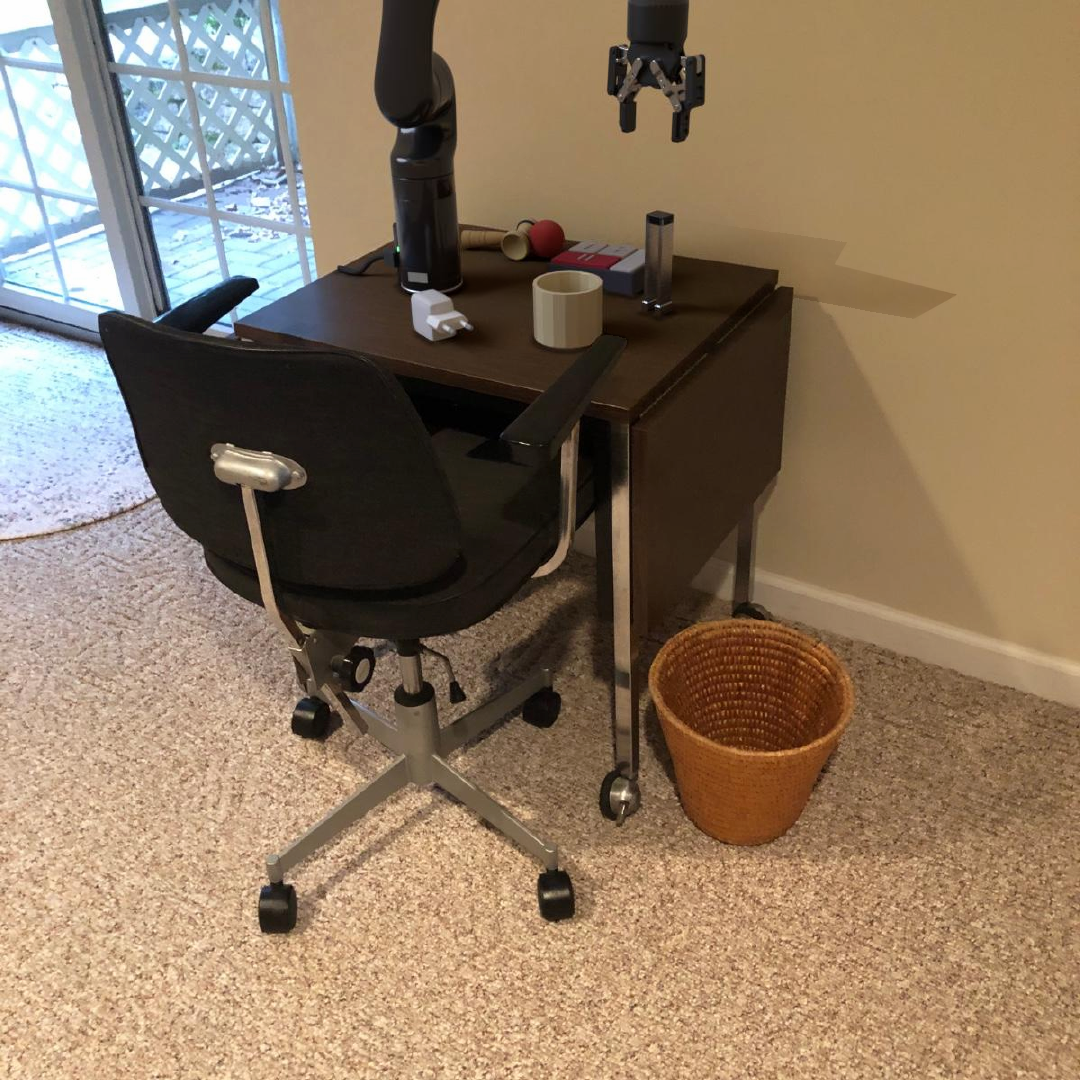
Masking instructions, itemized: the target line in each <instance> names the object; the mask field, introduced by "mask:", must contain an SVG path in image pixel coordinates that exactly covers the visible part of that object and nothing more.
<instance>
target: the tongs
mask: <svg viewBox="0 0 1080 1080" xmlns="http://www.w3.org/2000/svg"><path fill="white" fill-rule="evenodd" d="M674 228H675V214H674V213H671V212H667V211H663V210H654V211H651V212H648V213H646V215H645V240H644V243H645V244H644V249H645V277H644V290H643V300H642V301H641V311H644V312H649V311H651V310H654V315H656V316H658V317H659V316H663V315H665V314H667V313H670V312H672V311H673V304H674V303H673V301H672V281H673V279H672V277H673V257H674V255H673V253H674V251H673V250H674V233H675V231H674V230H675V229H674Z"/></svg>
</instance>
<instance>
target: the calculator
mask: <svg viewBox="0 0 1080 1080" xmlns="http://www.w3.org/2000/svg"><path fill="white" fill-rule="evenodd" d="M546 268H547V269H546V270H547V273H550V272H556V271H569V270H571V271H583V272H588V273H592V274H595V275H597V276H599V277H600V278H601V279H602V280H603V290H605V291H609V292H614V293H619V294H625V295H631V296H634V295H636V294H638V293H640V291H642V290H643V291H644V277H645V248H640V249H639V248H638V247H637V246H630V245H623V244H620V245H619V244H610V245H609V244H608V243H604V242H603V243H602V242H594V241H581V242H579V243H578V244H576V245H574V246H572V247H570V248H569V249H568V250H565V251H562V252H561V253H560V254H558V255H556V256H554V257H552V258H550V261H549V262H547V264H546Z"/></svg>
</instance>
